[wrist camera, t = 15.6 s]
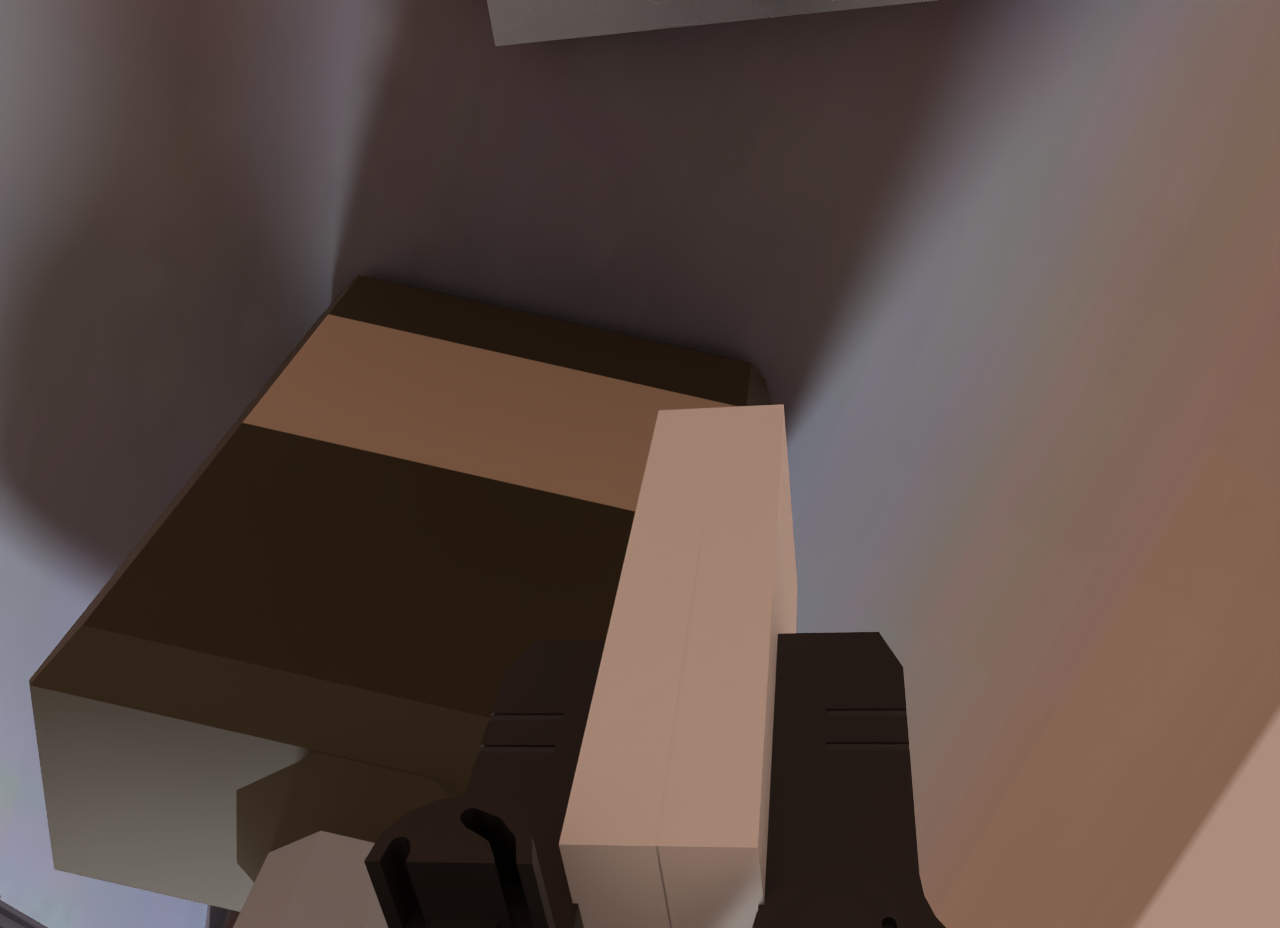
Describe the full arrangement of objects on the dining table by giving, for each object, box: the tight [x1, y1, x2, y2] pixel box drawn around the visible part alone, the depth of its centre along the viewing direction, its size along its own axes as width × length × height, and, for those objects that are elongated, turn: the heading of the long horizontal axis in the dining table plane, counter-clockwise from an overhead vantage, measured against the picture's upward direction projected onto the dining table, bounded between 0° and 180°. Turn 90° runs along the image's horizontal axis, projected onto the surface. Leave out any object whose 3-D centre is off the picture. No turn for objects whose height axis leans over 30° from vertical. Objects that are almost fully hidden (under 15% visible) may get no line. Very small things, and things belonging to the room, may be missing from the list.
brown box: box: [29, 275, 771, 928], centre depth 33 cm, size 8×16×25 cm, turn 80°
